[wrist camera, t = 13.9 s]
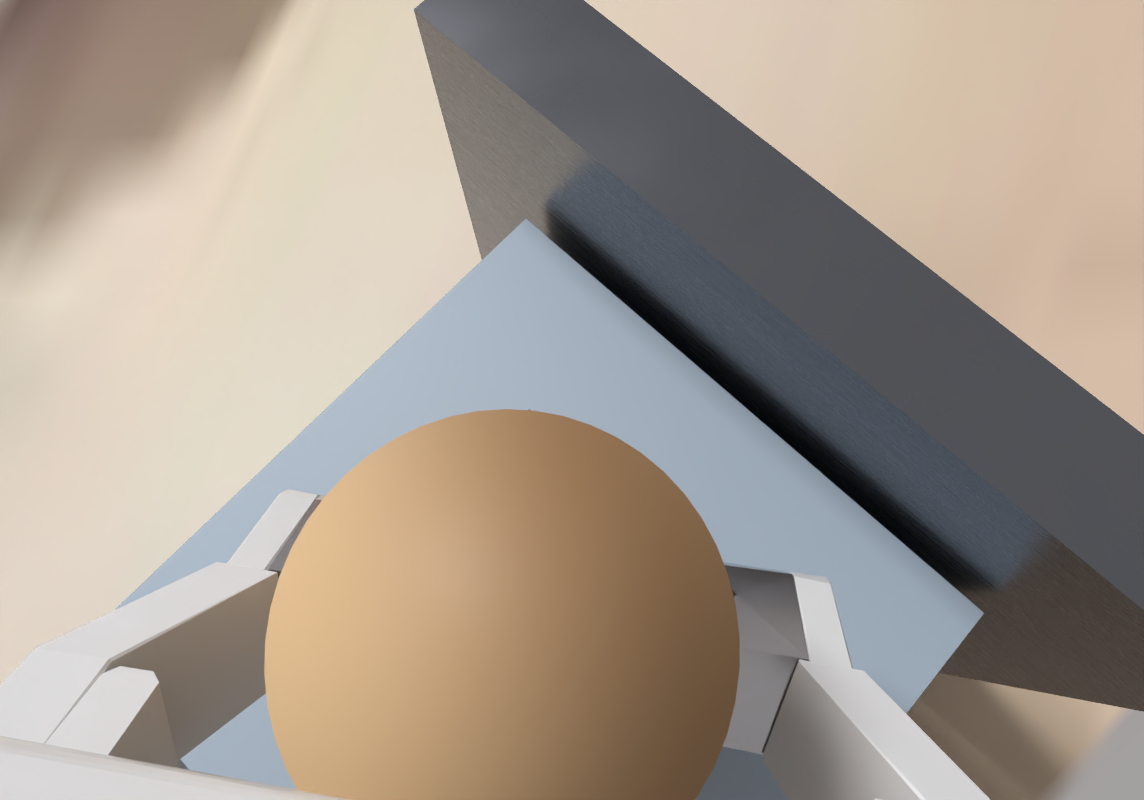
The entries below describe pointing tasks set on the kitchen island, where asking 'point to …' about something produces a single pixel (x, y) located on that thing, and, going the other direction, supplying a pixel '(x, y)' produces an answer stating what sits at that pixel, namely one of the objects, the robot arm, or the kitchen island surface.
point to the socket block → (634, 415)
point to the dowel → (503, 623)
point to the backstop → (813, 332)
